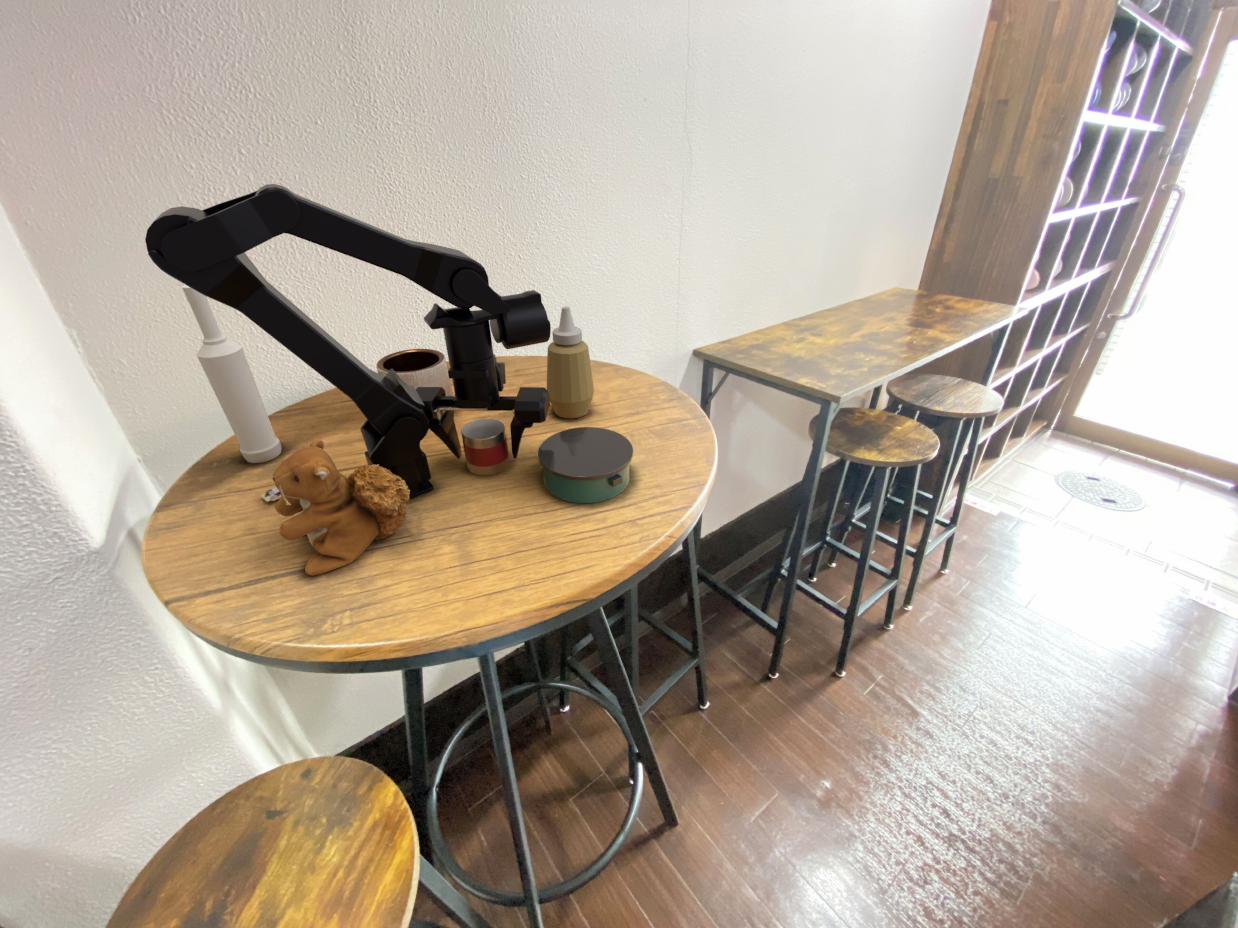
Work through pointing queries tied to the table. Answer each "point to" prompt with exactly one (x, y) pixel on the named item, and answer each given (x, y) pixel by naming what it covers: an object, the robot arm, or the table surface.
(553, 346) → the squeeze bottle
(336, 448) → the table surface
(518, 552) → the table surface
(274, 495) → the granola bar
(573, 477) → the round lidded tin
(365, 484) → the stuffed squirrel
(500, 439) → the can
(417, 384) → the planter
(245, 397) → the bottle
